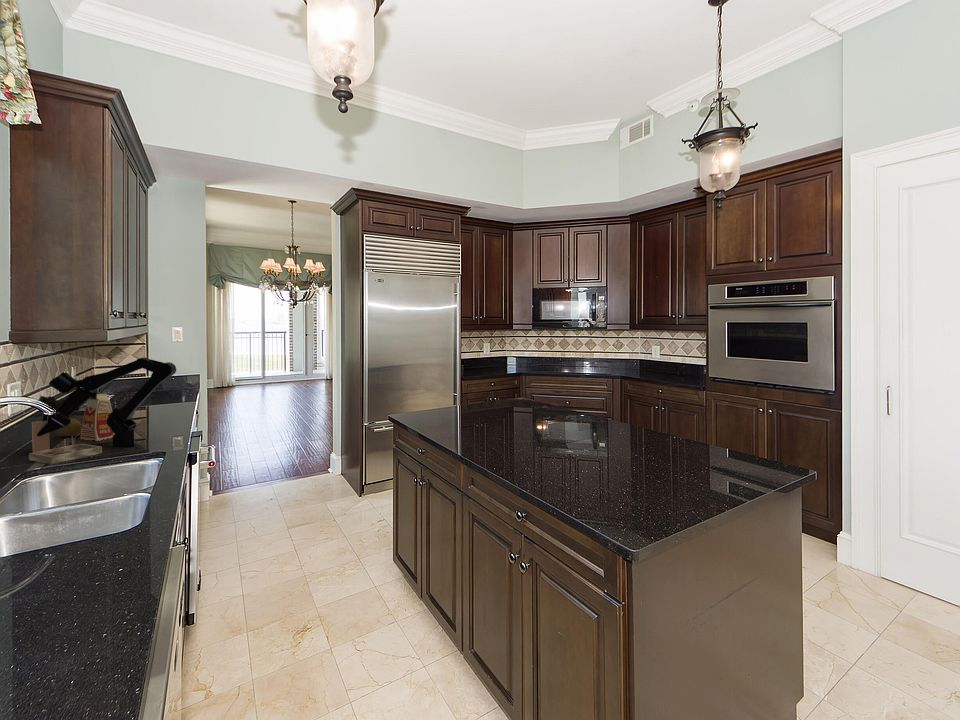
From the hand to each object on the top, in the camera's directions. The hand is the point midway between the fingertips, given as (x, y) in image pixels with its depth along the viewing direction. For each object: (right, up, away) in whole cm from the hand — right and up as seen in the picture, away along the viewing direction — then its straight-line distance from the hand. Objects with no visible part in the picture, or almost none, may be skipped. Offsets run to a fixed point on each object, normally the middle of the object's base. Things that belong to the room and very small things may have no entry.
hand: (35, 433), depth 174 cm
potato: (-11, -6, +28) cm, 31 cm away
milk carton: (+1, -6, +27) cm, 28 cm away
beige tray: (+15, -8, -4) cm, 18 cm away
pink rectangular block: (+1, -8, +1) cm, 8 cm away
